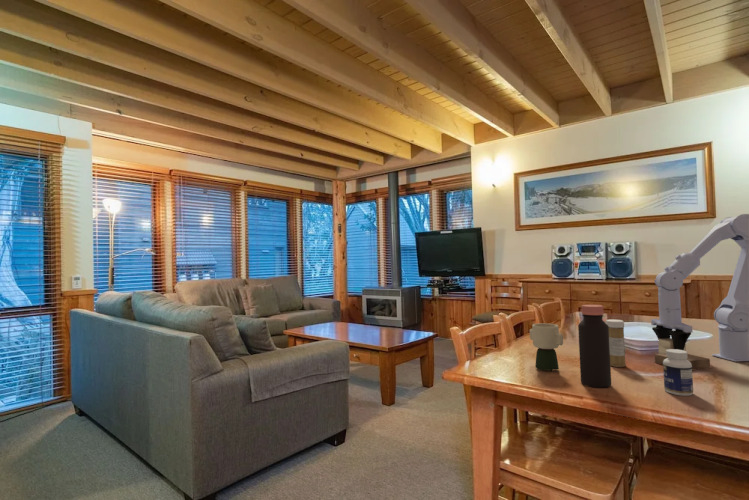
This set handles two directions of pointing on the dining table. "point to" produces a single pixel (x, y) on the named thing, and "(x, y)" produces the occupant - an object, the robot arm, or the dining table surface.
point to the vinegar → (594, 348)
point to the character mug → (546, 345)
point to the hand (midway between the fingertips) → (672, 351)
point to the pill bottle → (677, 373)
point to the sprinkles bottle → (616, 342)
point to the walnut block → (694, 360)
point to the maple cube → (666, 345)
